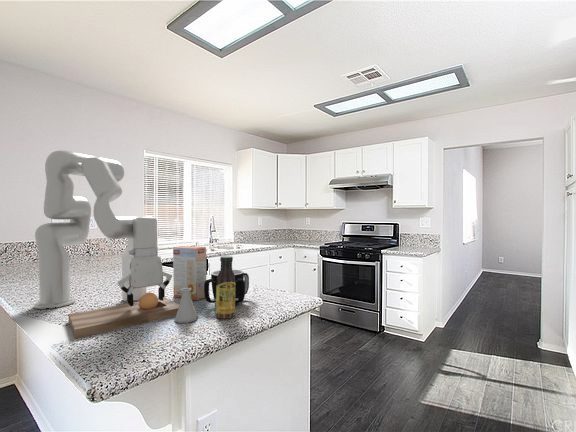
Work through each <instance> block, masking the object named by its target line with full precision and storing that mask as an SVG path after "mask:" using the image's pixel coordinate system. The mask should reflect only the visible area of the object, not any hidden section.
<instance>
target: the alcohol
mask: <svg viewBox="0 0 576 432" xmlns="http://www.w3.org/2000/svg"><path fill="white" fill-rule="evenodd" d="M132 249H133V238H127V246H126V249H124V251H123V252H122V255H121V279H123V278H125V277H126V276H128V275H129V271H130V263H131V258H132V257H134V256H133V255H129V251H131V250H132ZM124 286H125V287H126V288H128V287H129V286H130V285H129V280H128V281H127V282H125V283H124ZM145 293H147V287H143V288H135V289H134V290H133V292H132V294H133V303H134V302H139V299H140V297H141V296H142V295H143V294H145ZM121 295H122V297H121V298H122V301H124V302H125V303H127V293H126V292H124V291H123V290H122V289H121Z"/></svg>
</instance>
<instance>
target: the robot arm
mask: <svg viewBox="0 0 576 432" xmlns="http://www.w3.org/2000/svg"><path fill="white" fill-rule="evenodd" d="M44 165H45V166H44V171H45V179H46V183H45V184H46V186H45V193H44V201H43V202H44V203H43V213H44V216H45V217H46V218H47V219H51V220H69V221H67V222H63V221H62V222H60V221H59V222H46V223H43V224H40V225H39V226H38V227H37V228H36V230H35V232H34V238H35V243H36V247H37V252H38V271H39V272H38V275H39V276H38V280H39V281H38V283H39V285H38V287H39V288H38V289H39V294H38V295H39V301H37V302H36V303H35V302H34V304H33V305H34V308H35V309H37V310H39V309H40V310H44V309H45V310H46V308H49V309H54V308H55V307H56V308H61V307H65V306H69V305H72V304H74V303H75V302H76V298H75V297H71V258H70V255H69V253H68V251H67V250H66V248H65V247H70V246H71V247H72V246H78V245H82V244H84V243H85V242H86V241H87V240H88V237H89V232H90V224H91V223H90V222H91V216H92V207H91V203H90V201H89V200H88V199H87V198H85V197H84V196H79V195H74V190H75V184H74V182H73V180H72V178H71V177H70V175H74V176H80V177H85V179H86V181H87V182H88V184H89V186H90V188H91V190H92V192H93V194H94V195H95V197H96V199H95V202H94V205H93V218H94V221H95V223H96V225H97V227H98V228H99V230H100V232H101V233H102V234H103V235H104V236H105V237H106V238H108V239H110V240H118V239H119V240H120V239H128V238H133V249H132V250H131V251H129V255H133V256H134V257H132V258H131V263H130V271H129V275H128V276H126V277H125V278H123V279H122V278H121V279H120V280H118V281H117V285H118V286H119V288H120V289H121V291H122V290H123V291H124V292H126V293H127V302H126V304H129V305H130V306H133V303H134V302H133V294H132V292H133V290H134V289H135V288H143V287H146V288H148V287H154V286H158V287H159V288H158V289H157V290H158V294H157V297H158V298H159V300H161V301H163V297H165V293H166V292H165V289H166V288H167V287H168V286H169V284H170V281H171V280H172V278H173V275H172V274H170V273H168V272H164V271H163V264H162V258H161V256H160V255H159V254H158V220H157V218H156V217H154V216H126V215H125V216H124V215H123V216H119V215H118V216H116V215H115V214H114V212H113V210H112V208H111V205H110V203H112V202H114V201H116V200H117V199H118V198H120V197H121V195H122V194H123V190H122V187H121V185H120V183H119V182H120V181H122V180H123V179H124V176H125V169H124V167H123V164H121V163H120V162H119V161H118V160H114V159H110V158H105V157H100V156H99V157H98V156H95V155H89V154H86V153H85V154H84V153H80V152H76V151H70V150H55V151H52V152H51V153H50V154H49V155H48V156H47V157H46V160H45V164H44ZM164 277H166V278H165V280H164ZM128 280H129V285H130V286H129V287H128V288H126V287H125V286H124V283H125V282H127V281H128ZM165 298H166V297H165ZM56 308H55V309H56Z"/></svg>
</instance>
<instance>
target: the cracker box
mask: <svg viewBox="0 0 576 432" xmlns="http://www.w3.org/2000/svg"><path fill="white" fill-rule="evenodd" d="M172 251H173V252H172V255H173V256H172V261H173V262H172V265H173V266H172V268H173V275H172V278H173V297H175V298H180V299H181V296H182V293H181V291H180V290H181V289H183V288H191V291H190V295H191V300H192V301H199V300H203V299H205V296H204V283H205V281H206V280H207V247H206V246H192V245H190V246H189V245H181V246H173V247H172Z"/></svg>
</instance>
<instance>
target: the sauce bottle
mask: <svg viewBox="0 0 576 432" xmlns="http://www.w3.org/2000/svg"><path fill="white" fill-rule="evenodd" d="M219 258H220V259H219V261H220V272H219V274H218V276H217V285H216V303H215V316H216V318H217V319H221V320H226V319H227V320H228V319H230V318H234V316H235V312H236V305H235V275H234V273H233V271H232V270H233V260H234V257H233V256H231V255H230V256H229V255H224V256H220V257H219Z"/></svg>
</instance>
